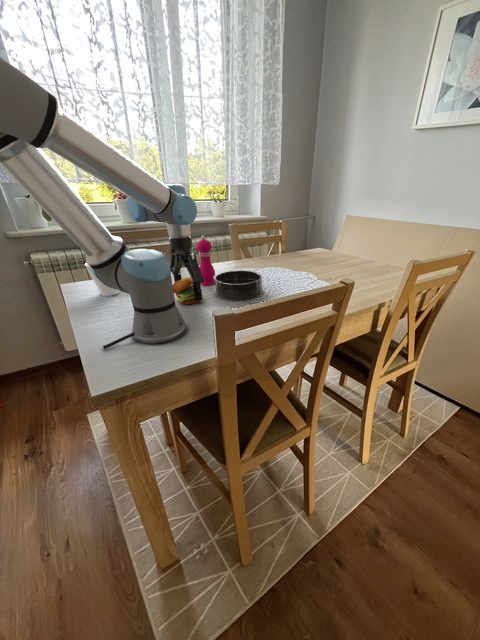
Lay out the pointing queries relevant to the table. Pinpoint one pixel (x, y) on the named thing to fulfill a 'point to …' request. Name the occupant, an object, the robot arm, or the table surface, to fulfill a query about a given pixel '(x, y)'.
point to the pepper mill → (206, 262)
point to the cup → (101, 284)
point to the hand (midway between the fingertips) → (188, 295)
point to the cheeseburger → (185, 291)
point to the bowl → (238, 285)
